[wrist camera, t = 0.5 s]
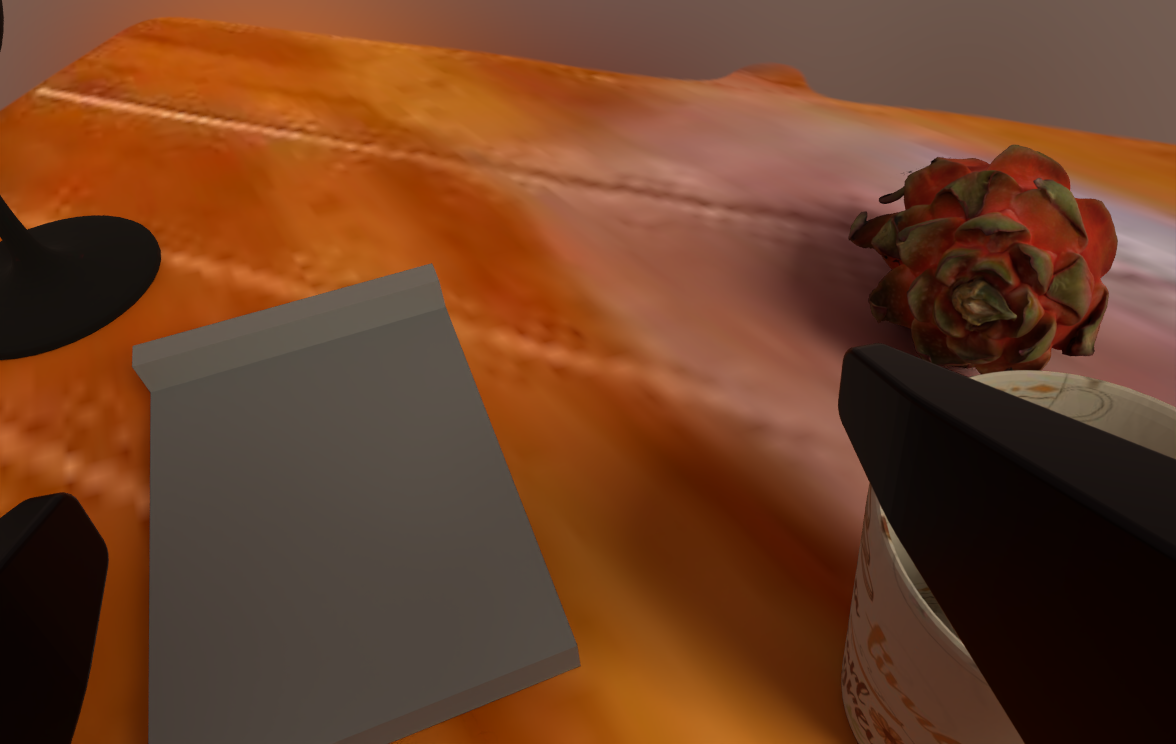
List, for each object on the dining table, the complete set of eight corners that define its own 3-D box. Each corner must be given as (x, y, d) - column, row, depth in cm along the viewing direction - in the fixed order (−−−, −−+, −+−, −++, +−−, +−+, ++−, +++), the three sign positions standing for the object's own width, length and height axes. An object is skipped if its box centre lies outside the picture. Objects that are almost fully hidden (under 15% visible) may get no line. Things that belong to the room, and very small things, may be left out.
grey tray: (580, 665, 24) (574, 623, 22) (173, 830, 21) (119, 801, 19) (445, 315, 35) (432, 263, 33) (167, 396, 32) (132, 346, 30)
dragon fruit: (958, 474, 30) (894, 300, 39) (1213, 381, 26) (1075, 211, 35) (855, 325, 26) (812, 170, 35) (1137, 188, 22) (1005, 55, 31)
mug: (840, 537, 26) (918, 327, 19) (1282, 703, 22) (1604, 514, 15) (762, 777, 21) (826, 619, 14) (1309, 1049, 17) (1813, 1029, 10)
